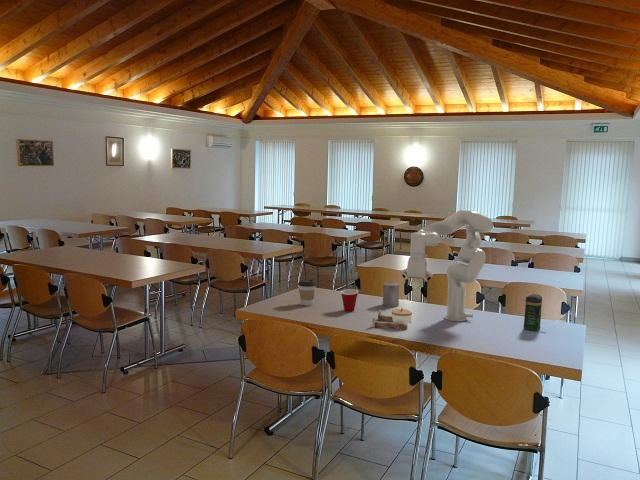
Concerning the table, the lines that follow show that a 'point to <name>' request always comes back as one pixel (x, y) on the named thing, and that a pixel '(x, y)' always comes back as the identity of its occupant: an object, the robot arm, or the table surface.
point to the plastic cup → (349, 299)
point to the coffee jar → (533, 312)
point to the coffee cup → (307, 291)
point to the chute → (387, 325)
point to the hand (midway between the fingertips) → (416, 287)
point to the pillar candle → (390, 294)
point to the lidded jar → (401, 316)
